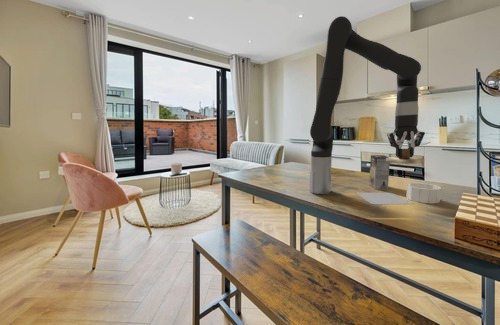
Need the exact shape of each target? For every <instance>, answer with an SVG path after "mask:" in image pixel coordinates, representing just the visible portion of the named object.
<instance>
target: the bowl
mask: <svg viewBox="0 0 500 325" xmlns="http://www.w3.org/2000/svg"><path fill="white" fill-rule="evenodd" d="M441 193H442V188H441V186H439V185H436V184H430V183H425V182H424V183H421V182H410V183H409V182H408V183H407V184H406V194H405V195H406V196H405V197H406V200H408V201H409V200H410V201H412V202H416V203H422V204H438V203H440V202H441V195H442V194H441Z"/></svg>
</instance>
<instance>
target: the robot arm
mask: <svg viewBox="0 0 500 325" xmlns="http://www.w3.org/2000/svg"><path fill="white" fill-rule="evenodd" d="M326 40H327V41H326V50H325V57H324V61H323V64H322V70H321V73H320V78H319V79H320V80H319V83H318V88H317V96H316V97H317V98H316V106H315V111H314V115H313V119H312V123H311V126H310V129H309V130H310V131H309V134H310V138H311V139H312V147H311V151H310V157H311V158H310V171H309V191H310V192H311V194H316V195H327V194H330V193H331V191H332V190H331V189H332V160H333V159H332V158H333V157H332V156H333V154H332V152H333V148H334V144H333V143H334V129H333V126H332V118H333V116H332V115H333V111H334V108H335V106H336V104H337V100H338V98H339V95H340V92H341V88H342V83H343V78H344V77H343V76H344V61H345V60H344V59H345V57H344V56H345V50H347V51H351V53H355V54H357V55H359V56H360V57H363V58H364V59H366V60H367V61H368V62H371V63H373V64H374V65H375V66H377V67H379V68H381V69H383V70H386V71H388V70H389V71H390V72H392V73H393V74H395V75H396V87H397V92H396V105H395V112H394V116H395V117H394V126H395V127H394V130H393V131H392V132H388V133H386V136H387V139H388V142H389V144H390V147H392V148H395V157H398V158H401V157H402V149H403V144H404V143H405V141H406V143H407V149H410V157H414V154H415V148H417V147H419V146H420V145H421V143H422V141H423V140H424V139H423V138H424V136H425V134H426V132H424V131H419V129H418V122H419V88H418V75H419V74H420V73H421V70H422V66H421V63H420V62H419V61H418V60H417V59H415V58H413V57H411V56H408V55H404V54H402V53H399V52H397V51H395V50H394V49H392V48H390V47H388V46H387V45H384V44H382V43H379V42H378V41H373V40H370V39H367V38H365V37H363V36H361V35H360V34H358V32H356V31H354V30H353V27H352V22H351V21H350V20H349V18H348V17H347V16H342V15H339V16H337V17H335V18H334V19H333V20H332V21H331V22H330V24H329V26H328V29H327V38H326ZM415 136H416V137H415ZM395 137H396V138H395Z"/></svg>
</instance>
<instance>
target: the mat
mask: <svg viewBox="0 0 500 325" xmlns="http://www.w3.org/2000/svg"><path fill="white" fill-rule="evenodd" d="M355 193H356V194H357V195H358V197H361V199H364V200H365V201H366V202H368V203H370V204H371V205H415V204H414V202H413V201H412V202H411V200H410V201H409V199H405V198H404V197H401V196H399V195H397V194H395V193H394V192H355Z"/></svg>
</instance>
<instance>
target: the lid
mask: <svg viewBox="0 0 500 325" xmlns="http://www.w3.org/2000/svg"><path fill="white" fill-rule="evenodd" d="M401 149H402V157H401V158H398V157H397V156H392V157H391V156H390V157H389V156H388V157H389V158H386V161H387V162H390V164H391V163H393V164H409V165H410V164H411V165H412V164H413V165H414V164H415V165H416V164H423V163H425V159H424V158H422V157H421V158H420V157H414V156H412V157H410V149H408V148H401Z"/></svg>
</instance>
